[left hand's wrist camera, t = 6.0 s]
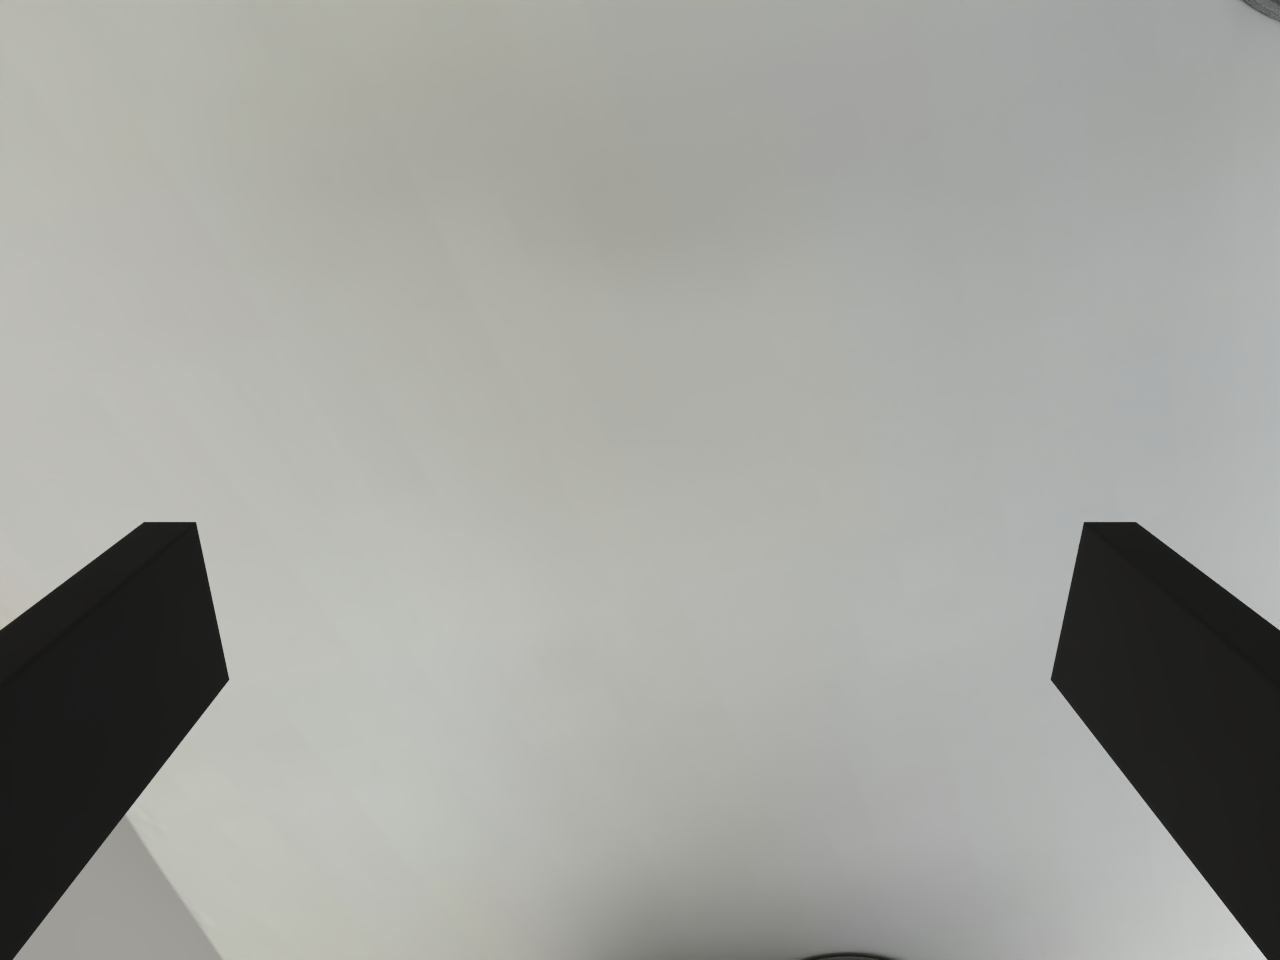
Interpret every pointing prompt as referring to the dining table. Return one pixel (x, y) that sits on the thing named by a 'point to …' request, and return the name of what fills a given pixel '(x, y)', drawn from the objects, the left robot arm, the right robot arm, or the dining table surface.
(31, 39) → the dining table surface
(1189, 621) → the left robot arm
